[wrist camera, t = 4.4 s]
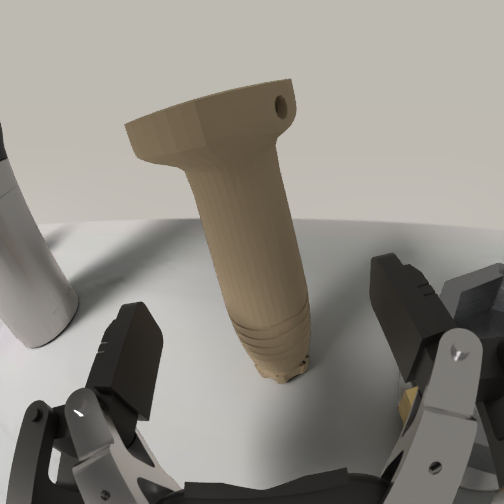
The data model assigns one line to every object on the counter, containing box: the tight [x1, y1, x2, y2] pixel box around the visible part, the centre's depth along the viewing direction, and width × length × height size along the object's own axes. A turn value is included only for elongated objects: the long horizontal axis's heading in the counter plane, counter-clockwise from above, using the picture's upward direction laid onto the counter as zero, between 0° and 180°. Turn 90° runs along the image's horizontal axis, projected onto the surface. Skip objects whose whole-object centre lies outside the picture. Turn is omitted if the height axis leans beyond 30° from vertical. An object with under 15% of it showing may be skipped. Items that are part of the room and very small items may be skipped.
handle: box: [125, 79, 311, 384], centre depth 13 cm, size 5×6×15 cm
